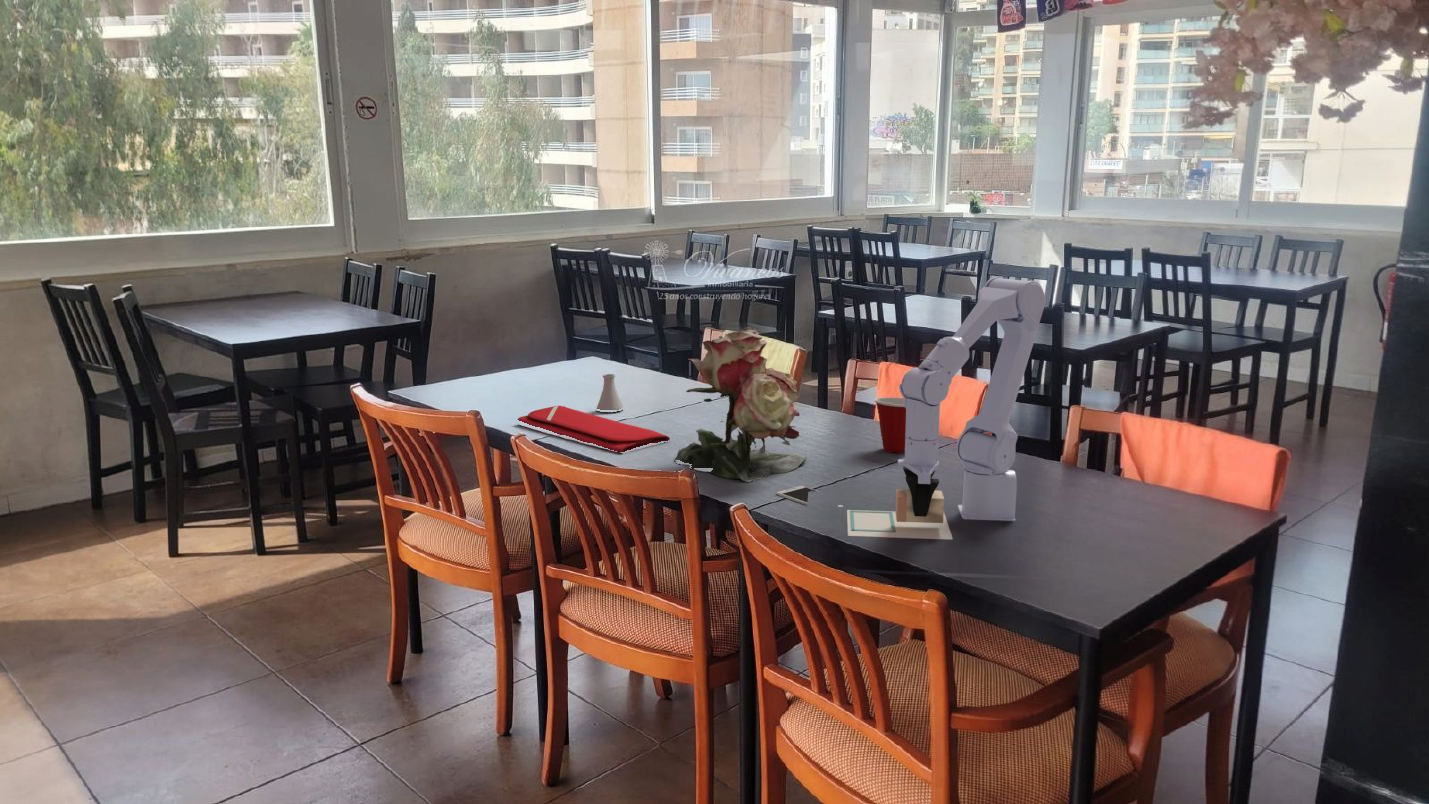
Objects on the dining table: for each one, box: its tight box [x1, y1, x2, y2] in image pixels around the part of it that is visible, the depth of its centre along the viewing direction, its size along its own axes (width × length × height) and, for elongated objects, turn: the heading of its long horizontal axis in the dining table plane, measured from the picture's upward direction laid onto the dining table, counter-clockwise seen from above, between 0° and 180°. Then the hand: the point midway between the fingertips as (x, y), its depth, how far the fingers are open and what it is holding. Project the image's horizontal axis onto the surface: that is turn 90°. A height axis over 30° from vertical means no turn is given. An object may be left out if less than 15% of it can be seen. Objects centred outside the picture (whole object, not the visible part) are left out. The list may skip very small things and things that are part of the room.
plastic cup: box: [874, 396, 906, 454], centre depth 231 cm, size 11×11×12 cm
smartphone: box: [776, 485, 844, 508], centre depth 196 cm, size 7×15×1 cm, turn 39°
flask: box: [596, 373, 624, 410], centre depth 272 cm, size 7×7×10 cm
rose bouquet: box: [674, 326, 808, 483], centre depth 219 cm, size 26×29×30 cm
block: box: [894, 488, 945, 523], centre depth 178 cm, size 8×5×4 cm, turn 83°
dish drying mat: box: [517, 405, 671, 452], centre depth 248 cm, size 16×41×4 cm, turn 46°
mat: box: [846, 509, 954, 541], centre depth 181 cm, size 18×14×1 cm
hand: (919, 511), depth 178 cm, fingers closed on block, 5 cm apart
